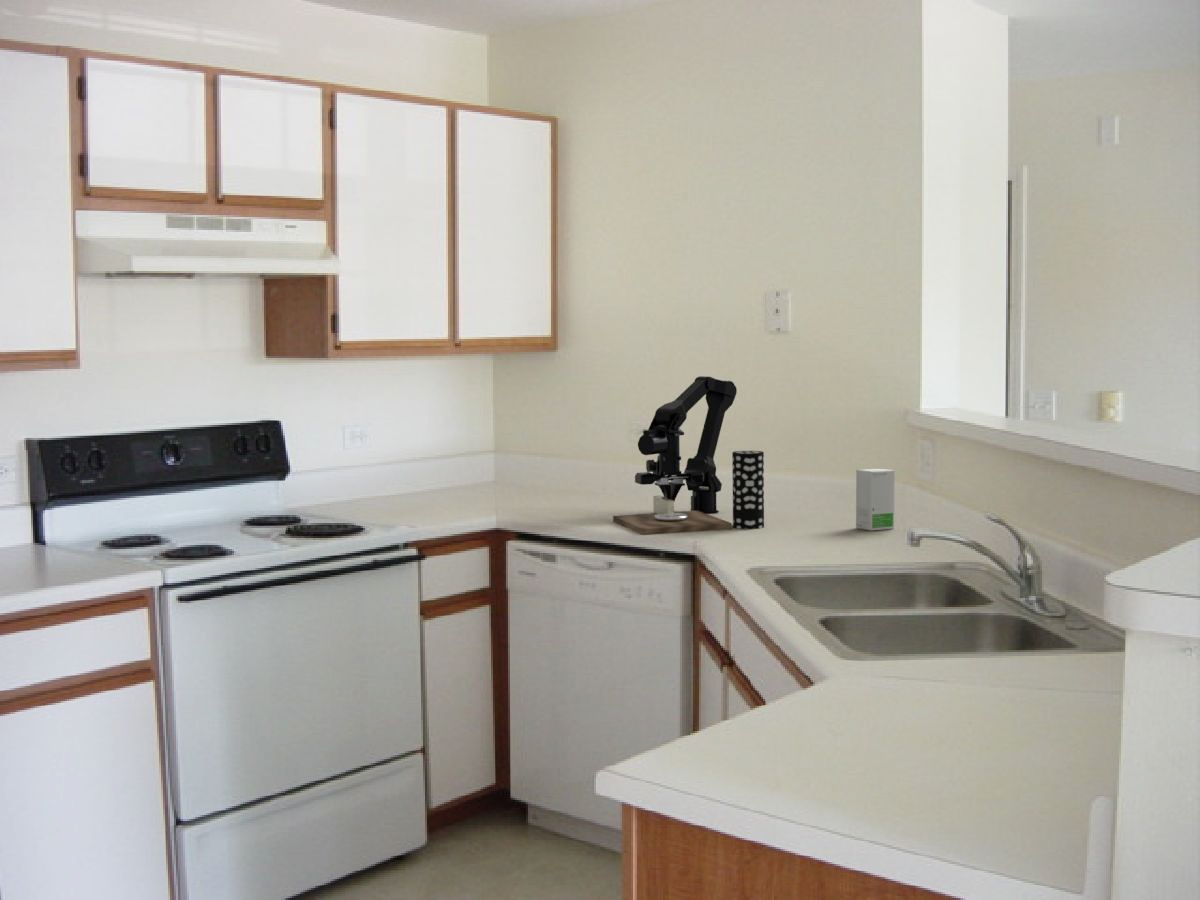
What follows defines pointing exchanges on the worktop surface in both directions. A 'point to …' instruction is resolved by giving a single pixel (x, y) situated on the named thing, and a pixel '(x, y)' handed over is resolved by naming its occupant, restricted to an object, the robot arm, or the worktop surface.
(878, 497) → the skincare box
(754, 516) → the white-spotted black cylinder
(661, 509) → the cream block with dome
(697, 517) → the dial plate
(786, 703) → the worktop surface
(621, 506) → the worktop surface
